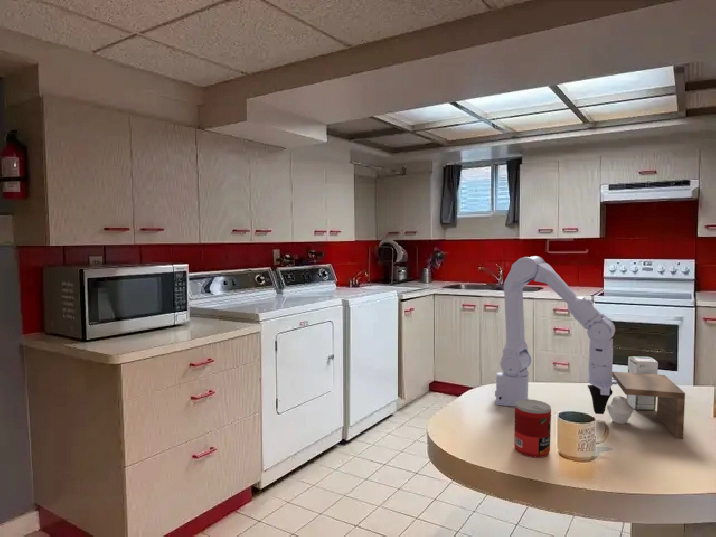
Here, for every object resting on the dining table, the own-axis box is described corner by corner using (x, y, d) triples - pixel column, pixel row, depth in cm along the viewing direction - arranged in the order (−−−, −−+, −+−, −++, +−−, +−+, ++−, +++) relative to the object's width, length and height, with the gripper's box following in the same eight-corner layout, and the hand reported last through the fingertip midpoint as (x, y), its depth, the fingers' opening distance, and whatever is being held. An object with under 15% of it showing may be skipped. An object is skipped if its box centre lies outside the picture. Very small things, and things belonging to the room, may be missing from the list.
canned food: (546, 461, 109) (547, 413, 109) (510, 453, 114) (510, 406, 113) (553, 448, 116) (554, 402, 115) (518, 441, 120) (519, 397, 119)
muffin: (610, 425, 130) (611, 399, 129) (603, 416, 136) (604, 391, 135) (635, 426, 129) (636, 400, 128) (628, 418, 135) (629, 393, 134)
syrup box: (646, 403, 146) (648, 355, 145) (656, 411, 140) (658, 360, 139) (626, 403, 146) (627, 355, 145) (635, 410, 140) (637, 360, 139)
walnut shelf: (624, 433, 124) (625, 388, 124) (611, 411, 140) (612, 371, 139) (683, 438, 121) (685, 393, 120) (662, 415, 136) (664, 374, 135)
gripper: (623, 372, 124) (621, 424, 125) (611, 358, 138) (609, 405, 139) (592, 370, 126) (591, 421, 127) (584, 356, 140) (582, 403, 141)
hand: (599, 413), depth 133 cm, fingers closed
